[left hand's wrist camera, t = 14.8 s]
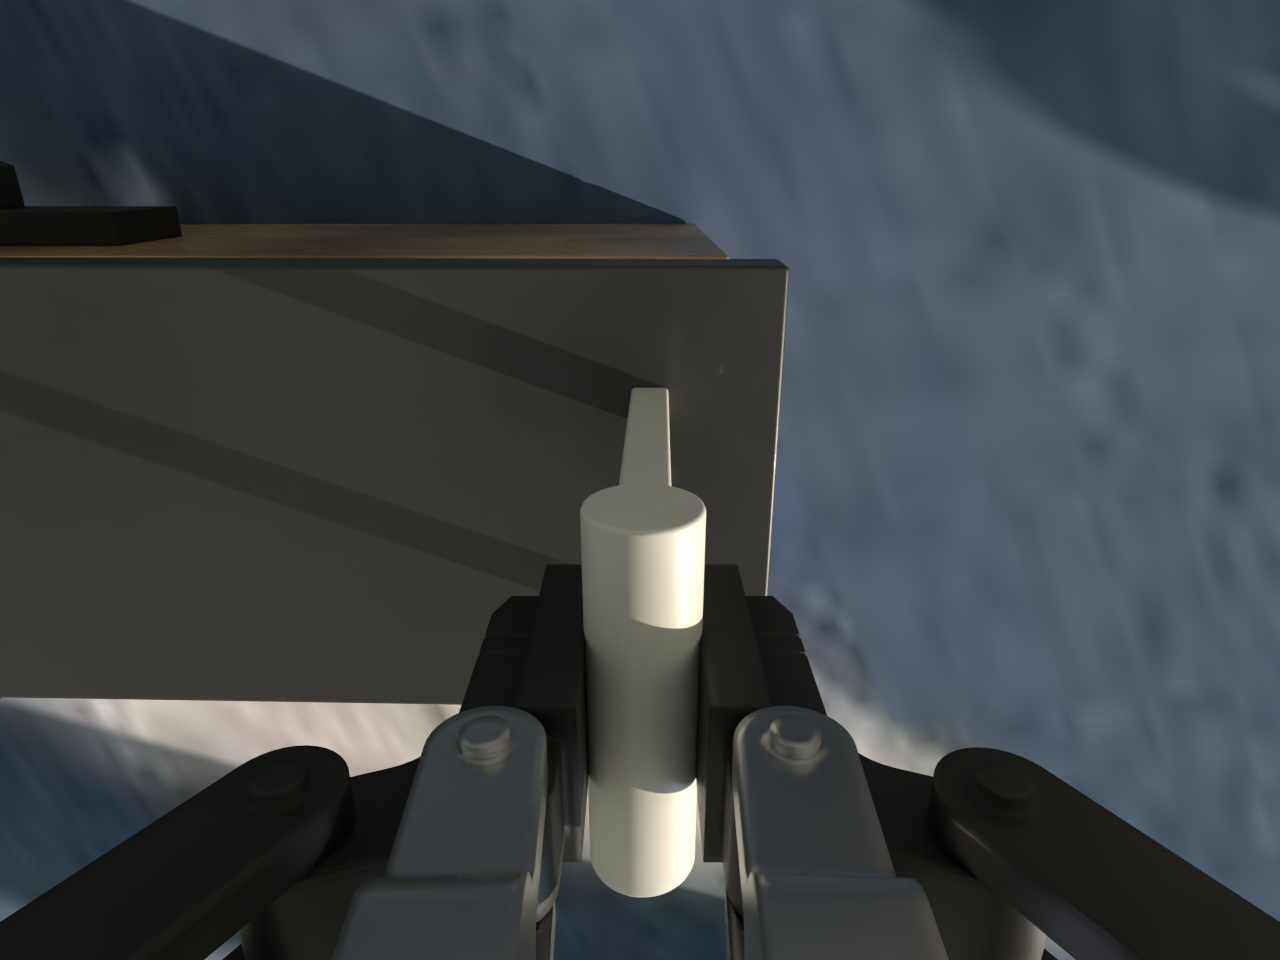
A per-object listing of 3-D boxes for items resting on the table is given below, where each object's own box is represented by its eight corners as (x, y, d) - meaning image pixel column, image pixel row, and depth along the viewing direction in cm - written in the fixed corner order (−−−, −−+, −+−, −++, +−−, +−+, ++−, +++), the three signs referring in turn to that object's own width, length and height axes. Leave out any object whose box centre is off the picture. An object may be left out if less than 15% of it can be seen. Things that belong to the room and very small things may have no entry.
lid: (780, 258, 15) (894, 345, 8) (754, 676, 19) (815, 1010, 11) (-120, 256, 16) (-825, 335, 8) (19, 665, 19) (-387, 980, 12)
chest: (695, 223, 25) (730, 255, 16) (688, 503, 29) (713, 662, 19) (158, 223, 25) (-118, 255, 16) (218, 504, 29) (20, 664, 19)
